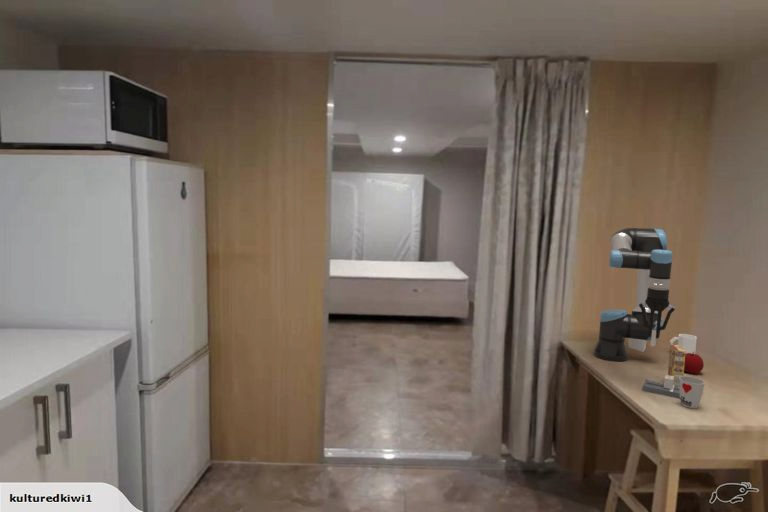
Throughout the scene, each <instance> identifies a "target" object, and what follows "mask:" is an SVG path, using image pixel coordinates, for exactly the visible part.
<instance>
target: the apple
mask: <svg viewBox="0 0 768 512" xmlns="http://www.w3.org/2000/svg"><path fill="white" fill-rule="evenodd" d="M693 353H694V352H693ZM703 369H704V360H703V358H702V357H701V355H698V354H696V353H695V354H692V353H686V354H685V364H684V372H686V373H688V374H694V375H695V374H699V373H701V372H702V371H703Z"/></svg>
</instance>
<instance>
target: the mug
mask: <svg viewBox="0 0 768 512" xmlns="http://www.w3.org/2000/svg"><path fill="white" fill-rule="evenodd" d="M697 338H698V336H696V335H693V334H688V333H679V334H678V336H674V337H672V338H671V339H670V340H669V346H670V345H674V342H675V341H676V340H677V345H679V346H681V347H682V348H683V349H684V350H685V351H686V353H692V354H696V350H697V349H696V348H697V340H698V339H697ZM693 352H694V353H693ZM686 353H685V354H686Z"/></svg>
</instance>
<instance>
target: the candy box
mask: <svg viewBox="0 0 768 512" xmlns="http://www.w3.org/2000/svg"><path fill="white" fill-rule="evenodd" d="M685 353H686V351H685V350H684V349H683V348H682V347H681V346H679V345H678V344H673V345H670V344H669V356H668V364H667V365H668V366H667V375H670V376H674V383H673V385H675V386H679V377H681V376H685V373H684V372H685V371H684V364H685Z"/></svg>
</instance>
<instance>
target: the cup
mask: <svg viewBox="0 0 768 512" xmlns="http://www.w3.org/2000/svg"><path fill="white" fill-rule="evenodd" d="M705 382H706V381H704V380H703V379H700V378H698V377H694V376H689V375H687V376H686V375H684V376H681V377H679V395H680V399H679V400H680V403H681V405H682V406H683V407H686V408H688V407H689V409H697V408H698V406H699V405H700V403H701V400H702V396H703V393H704V389H705V388H704V387H705Z"/></svg>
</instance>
